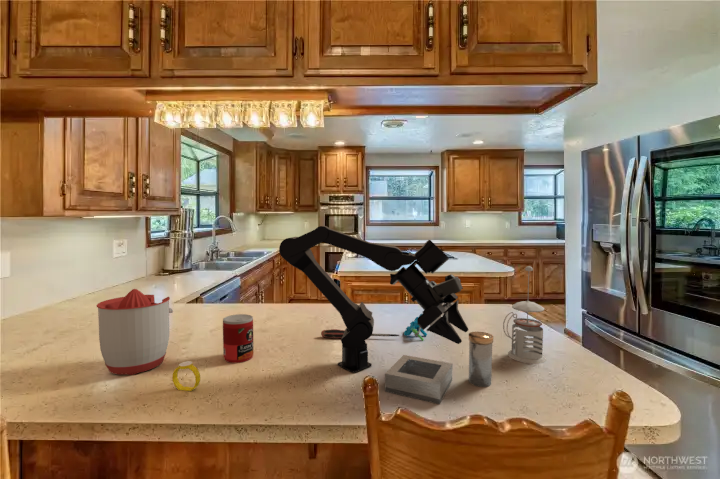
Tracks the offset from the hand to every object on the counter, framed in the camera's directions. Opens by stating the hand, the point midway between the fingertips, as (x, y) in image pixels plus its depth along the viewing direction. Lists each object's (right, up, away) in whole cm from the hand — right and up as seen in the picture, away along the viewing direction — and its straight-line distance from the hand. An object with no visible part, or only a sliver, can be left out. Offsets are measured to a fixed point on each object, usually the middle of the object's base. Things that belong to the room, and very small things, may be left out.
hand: (463, 336), depth 83 cm
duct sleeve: (+3, -10, -1) cm, 11 cm away
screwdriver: (-25, -9, +29) cm, 39 cm away
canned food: (-57, -9, +13) cm, 60 cm away
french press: (+21, -10, +14) cm, 27 cm away
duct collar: (-11, -10, -3) cm, 15 cm away
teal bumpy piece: (-7, -9, +31) cm, 33 cm away
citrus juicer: (-81, -10, +8) cm, 82 cm away
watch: (-63, -10, -5) cm, 64 cm away
